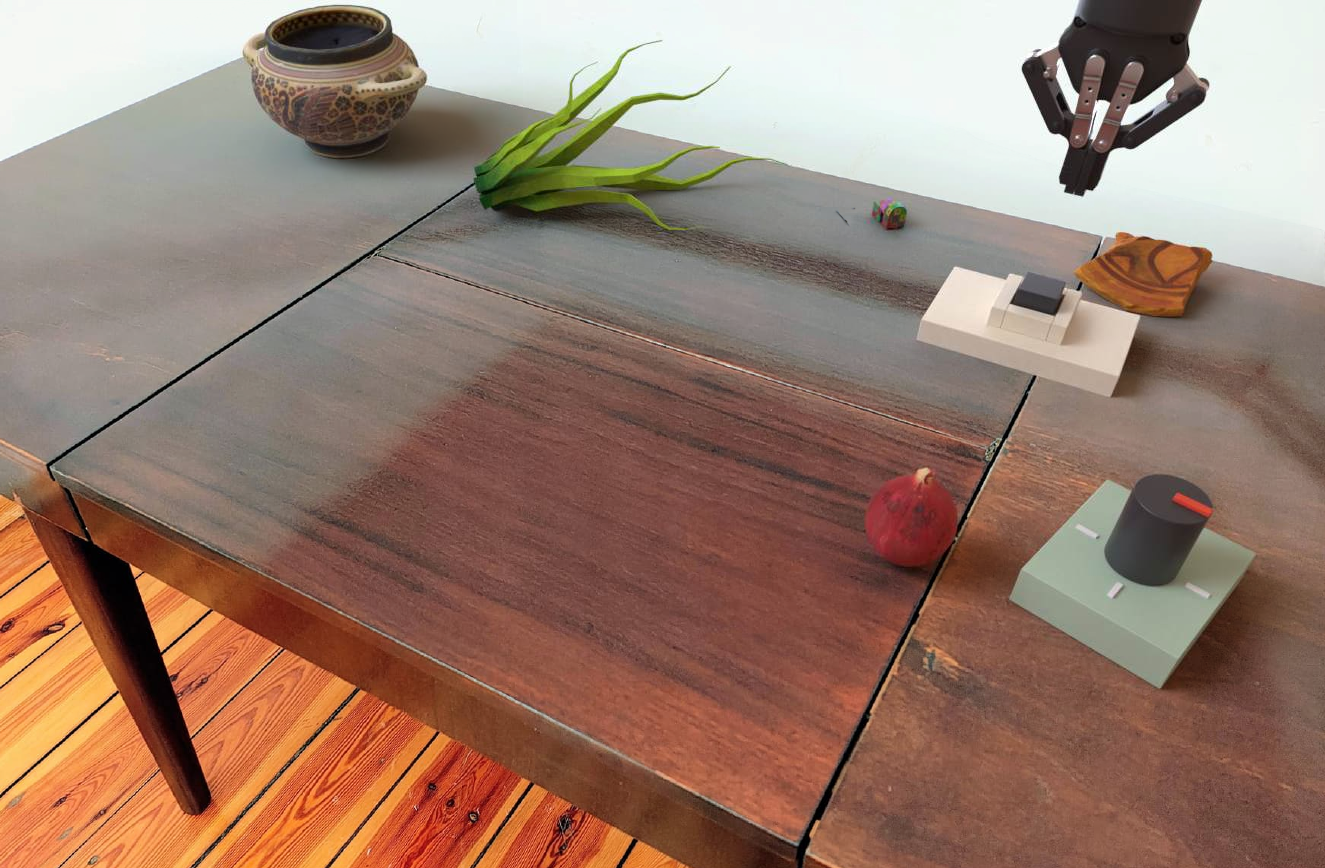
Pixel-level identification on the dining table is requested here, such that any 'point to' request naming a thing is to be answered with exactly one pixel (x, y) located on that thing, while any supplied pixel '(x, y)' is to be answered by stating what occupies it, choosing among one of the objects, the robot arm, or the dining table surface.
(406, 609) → the dining table surface
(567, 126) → the decorative plant
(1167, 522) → the volume knob
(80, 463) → the dining table surface
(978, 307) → the stepped cream pedestal
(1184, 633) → the panel
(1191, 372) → the dining table surface
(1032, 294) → the dark grey square block
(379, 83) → the ceramic bowl
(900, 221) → the multicoloured toy piece
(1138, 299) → the pottery fragment
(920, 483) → the pomegranate
